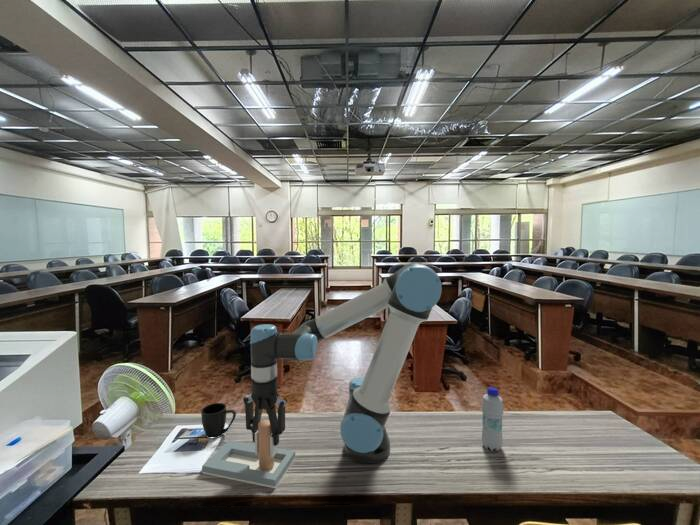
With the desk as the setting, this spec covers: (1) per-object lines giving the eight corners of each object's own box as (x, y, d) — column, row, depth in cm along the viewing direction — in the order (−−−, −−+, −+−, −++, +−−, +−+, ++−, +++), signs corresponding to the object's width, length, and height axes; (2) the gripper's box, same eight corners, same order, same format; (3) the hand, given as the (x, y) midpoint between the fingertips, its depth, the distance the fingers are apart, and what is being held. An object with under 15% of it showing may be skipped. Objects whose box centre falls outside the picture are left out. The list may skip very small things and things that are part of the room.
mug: (230, 442, 111) (229, 415, 110) (197, 440, 112) (196, 413, 111) (240, 428, 119) (240, 403, 118) (210, 427, 120) (209, 402, 120)
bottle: (492, 438, 111) (492, 382, 110) (507, 450, 105) (508, 390, 104) (476, 443, 109) (477, 385, 108) (491, 455, 102) (492, 393, 101)
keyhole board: (295, 458, 102) (295, 451, 102) (275, 488, 89) (275, 480, 89) (229, 447, 108) (229, 440, 108) (202, 473, 95) (202, 465, 95)
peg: (276, 462, 99) (275, 420, 98) (269, 471, 94) (268, 428, 94) (263, 459, 100) (262, 418, 99) (256, 469, 96) (255, 426, 95)
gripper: (296, 375, 97) (297, 450, 98) (245, 370, 102) (247, 441, 103) (285, 385, 90) (287, 466, 91) (231, 379, 94) (233, 456, 95)
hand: (266, 453), depth 97 cm, fingers closed on peg, 4 cm apart
